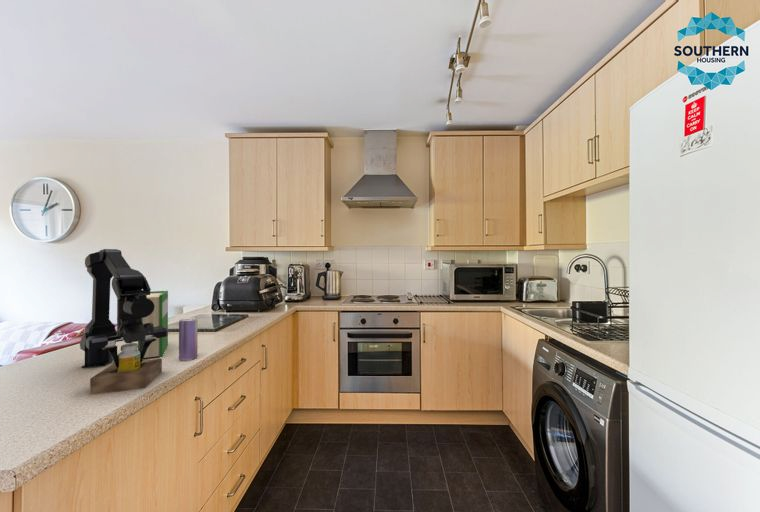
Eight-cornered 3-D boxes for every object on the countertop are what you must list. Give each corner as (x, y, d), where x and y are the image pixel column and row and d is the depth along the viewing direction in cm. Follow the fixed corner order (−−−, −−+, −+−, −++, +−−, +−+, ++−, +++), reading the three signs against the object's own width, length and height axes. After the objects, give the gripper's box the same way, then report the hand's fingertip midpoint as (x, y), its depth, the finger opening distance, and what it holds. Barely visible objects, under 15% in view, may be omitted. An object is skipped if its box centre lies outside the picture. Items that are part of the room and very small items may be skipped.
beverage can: (188, 361, 111) (188, 320, 111) (174, 360, 112) (175, 320, 112) (201, 356, 117) (201, 317, 117) (188, 355, 118) (188, 317, 118)
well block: (90, 394, 84) (90, 378, 84) (114, 376, 96) (114, 362, 96) (145, 388, 88) (145, 372, 88) (161, 371, 101) (161, 358, 101)
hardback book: (162, 357, 115) (162, 295, 115) (137, 360, 111) (137, 296, 111) (167, 345, 130) (167, 290, 130) (146, 348, 127) (146, 291, 127)
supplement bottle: (121, 374, 94) (121, 343, 94) (142, 371, 96) (142, 341, 96) (114, 380, 89) (115, 348, 89) (137, 377, 91) (137, 346, 91)
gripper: (92, 323, 80) (92, 381, 80) (173, 312, 95) (173, 362, 95) (85, 317, 87) (85, 371, 87) (162, 308, 102) (161, 354, 102)
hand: (129, 364), depth 92 cm, fingers closed on supplement bottle, 5 cm apart
